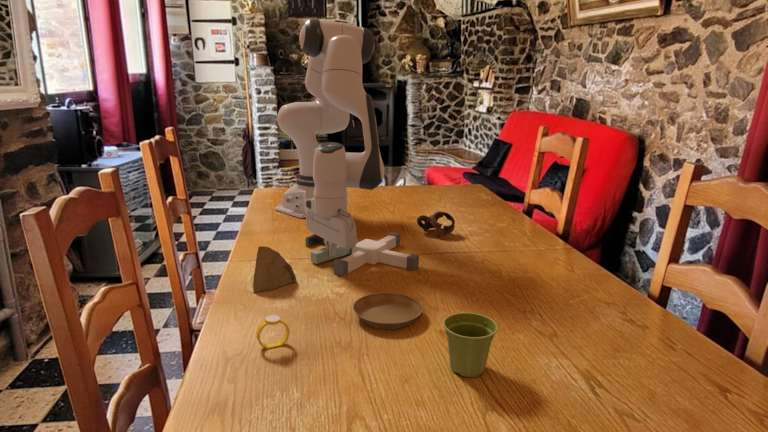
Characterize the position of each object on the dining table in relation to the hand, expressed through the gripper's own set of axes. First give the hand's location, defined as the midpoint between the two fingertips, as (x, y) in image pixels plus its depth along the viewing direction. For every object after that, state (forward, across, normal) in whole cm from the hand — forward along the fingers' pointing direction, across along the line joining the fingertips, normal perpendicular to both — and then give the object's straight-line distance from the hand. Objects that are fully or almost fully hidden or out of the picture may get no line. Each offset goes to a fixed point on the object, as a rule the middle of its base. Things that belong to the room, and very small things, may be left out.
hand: (331, 255), depth 140 cm
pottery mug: (+2, +2, -40) cm, 40 cm away
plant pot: (+3, -58, +7) cm, 58 cm away
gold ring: (+3, -31, +32) cm, 44 cm away
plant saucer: (+3, -34, +7) cm, 35 cm away
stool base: (+2, -8, -12) cm, 14 cm away
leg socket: (+2, +14, -3) cm, 15 cm away
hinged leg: (+2, +2, -2) cm, 4 cm away
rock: (+2, -5, +19) cm, 20 cm away
